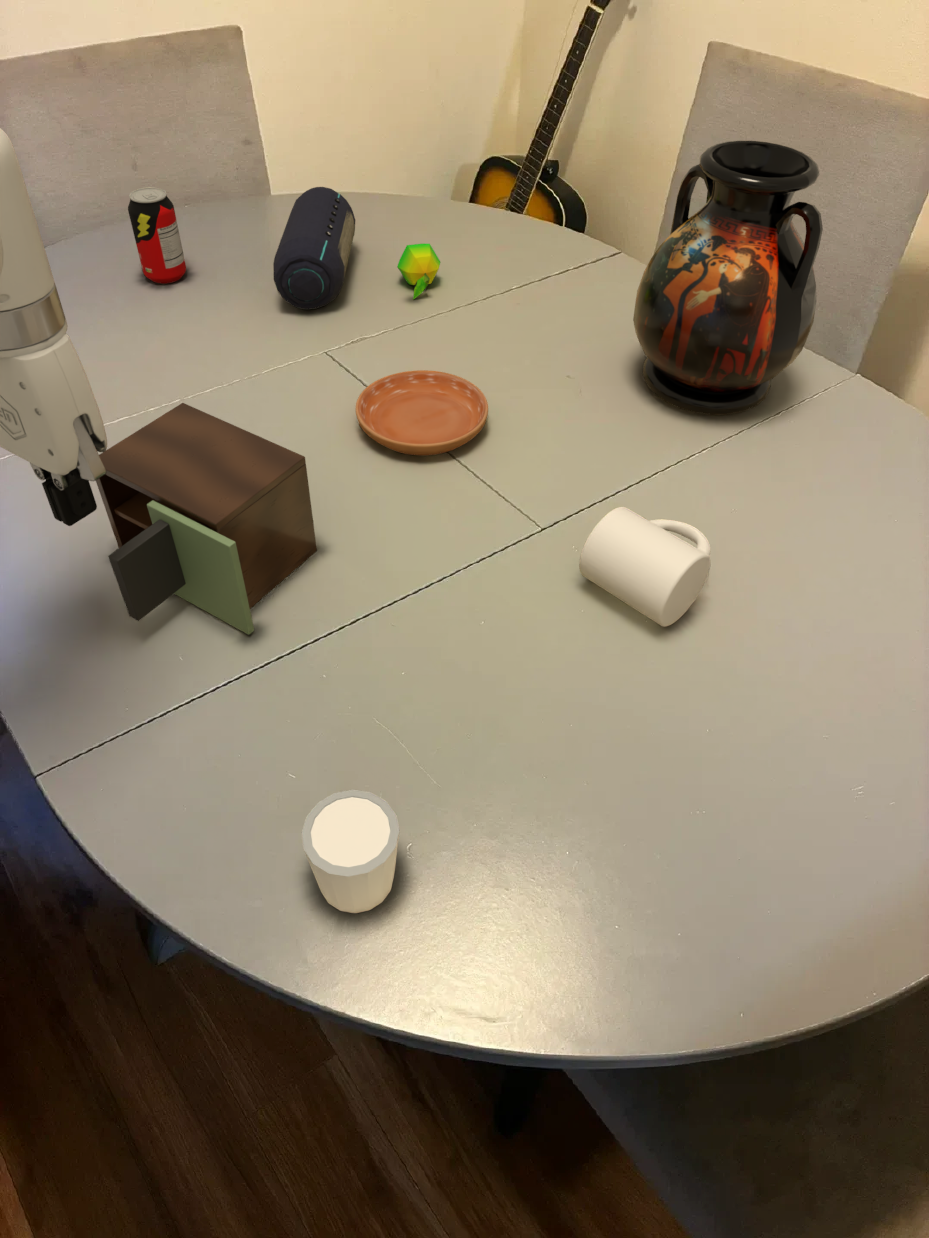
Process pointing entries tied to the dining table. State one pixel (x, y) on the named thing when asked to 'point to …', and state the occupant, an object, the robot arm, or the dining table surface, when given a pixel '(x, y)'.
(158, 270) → the beverage can
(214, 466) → the cupboard
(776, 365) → the amphora vase
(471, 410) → the saucer
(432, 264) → the apple
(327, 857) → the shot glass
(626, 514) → the mug
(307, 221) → the portable speaker
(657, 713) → the dining table surface
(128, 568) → the sliding door
